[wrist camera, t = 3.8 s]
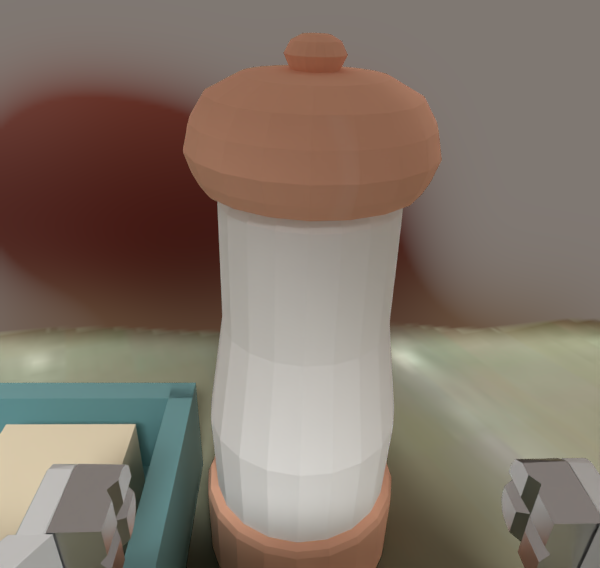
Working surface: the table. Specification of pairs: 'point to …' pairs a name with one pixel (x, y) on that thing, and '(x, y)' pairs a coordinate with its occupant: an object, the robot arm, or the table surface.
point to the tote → (153, 447)
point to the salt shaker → (306, 299)
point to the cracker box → (59, 460)
